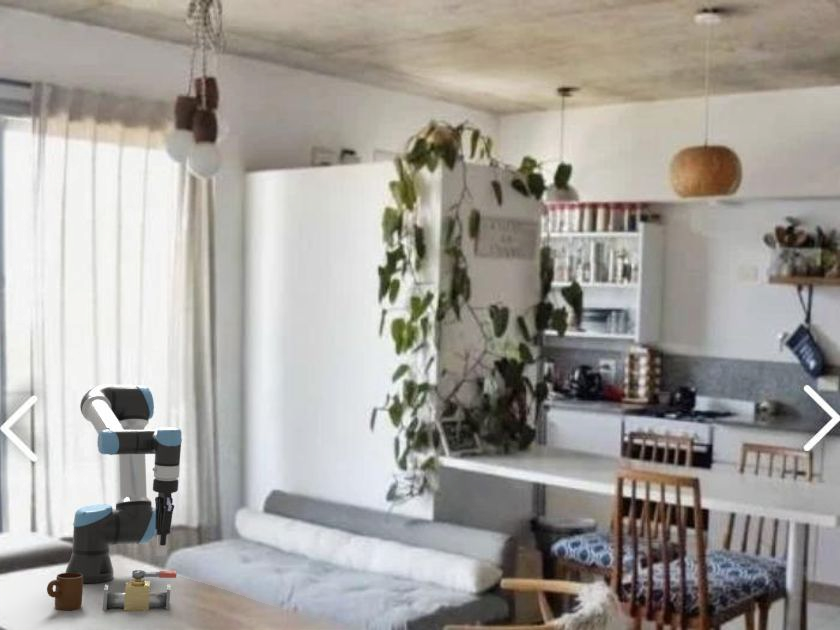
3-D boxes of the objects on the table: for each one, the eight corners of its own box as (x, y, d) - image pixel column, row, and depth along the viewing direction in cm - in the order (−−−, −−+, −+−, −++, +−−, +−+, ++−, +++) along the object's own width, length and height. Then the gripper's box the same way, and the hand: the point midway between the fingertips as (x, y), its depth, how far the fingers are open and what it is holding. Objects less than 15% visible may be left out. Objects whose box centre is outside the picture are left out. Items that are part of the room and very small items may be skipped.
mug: (55, 615, 297) (57, 582, 297) (36, 611, 301) (38, 578, 301) (87, 606, 308) (89, 575, 308) (68, 602, 312) (70, 570, 312)
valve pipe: (104, 602, 313) (106, 573, 313) (170, 602, 318) (172, 573, 318) (102, 610, 305) (104, 581, 305) (171, 610, 309) (172, 581, 309)
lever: (176, 575, 315) (176, 570, 315) (176, 578, 311) (176, 573, 311) (132, 575, 312) (132, 570, 312) (131, 578, 308) (132, 573, 308)
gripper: (148, 474, 322) (143, 550, 323) (159, 482, 311) (154, 561, 311) (172, 474, 326) (167, 549, 326) (184, 482, 315) (178, 559, 315)
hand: (160, 554), depth 319 cm, fingers closed
